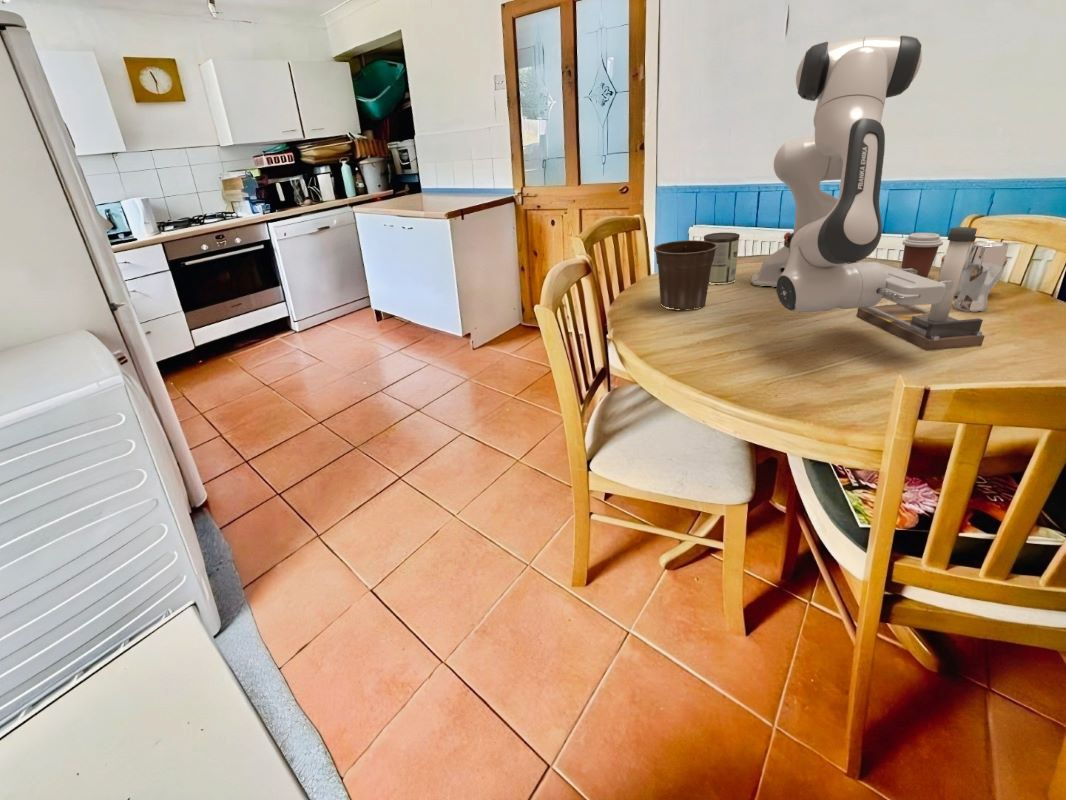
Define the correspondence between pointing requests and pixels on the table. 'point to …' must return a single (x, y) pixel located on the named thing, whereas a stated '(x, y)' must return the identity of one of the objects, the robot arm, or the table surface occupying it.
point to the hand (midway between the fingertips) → (931, 278)
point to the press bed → (935, 336)
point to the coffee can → (723, 257)
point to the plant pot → (684, 272)
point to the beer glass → (980, 274)
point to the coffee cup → (920, 252)
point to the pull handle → (949, 276)
